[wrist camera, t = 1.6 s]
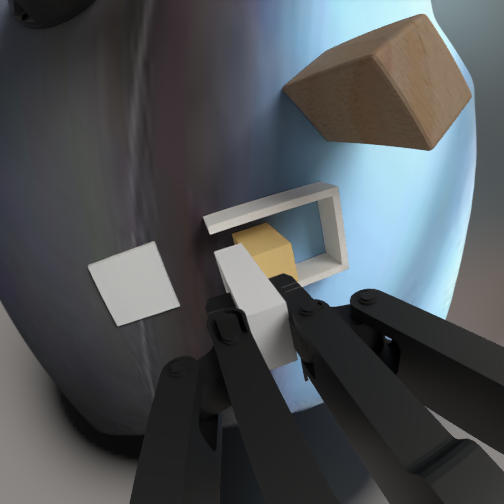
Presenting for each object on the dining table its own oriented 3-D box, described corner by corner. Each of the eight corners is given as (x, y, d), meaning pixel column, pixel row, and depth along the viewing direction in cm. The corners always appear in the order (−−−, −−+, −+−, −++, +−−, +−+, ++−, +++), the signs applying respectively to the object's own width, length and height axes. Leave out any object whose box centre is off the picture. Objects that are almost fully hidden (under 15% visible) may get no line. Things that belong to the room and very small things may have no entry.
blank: (231, 233, 41) (248, 257, 33) (266, 222, 42) (291, 243, 34) (240, 266, 43) (259, 296, 35) (274, 254, 44) (298, 281, 36)
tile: (88, 264, 37) (87, 266, 37) (154, 240, 39) (154, 242, 38) (118, 324, 41) (117, 326, 41) (179, 304, 43) (179, 306, 42)
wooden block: (326, 142, 40) (432, 153, 22) (279, 89, 36) (371, 55, 18) (367, 101, 39) (474, 96, 21) (326, 49, 35) (425, 11, 17)
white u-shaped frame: (202, 216, 39) (207, 226, 35) (319, 181, 42) (337, 186, 37) (227, 294, 44) (235, 311, 40) (332, 256, 47) (348, 268, 42)
